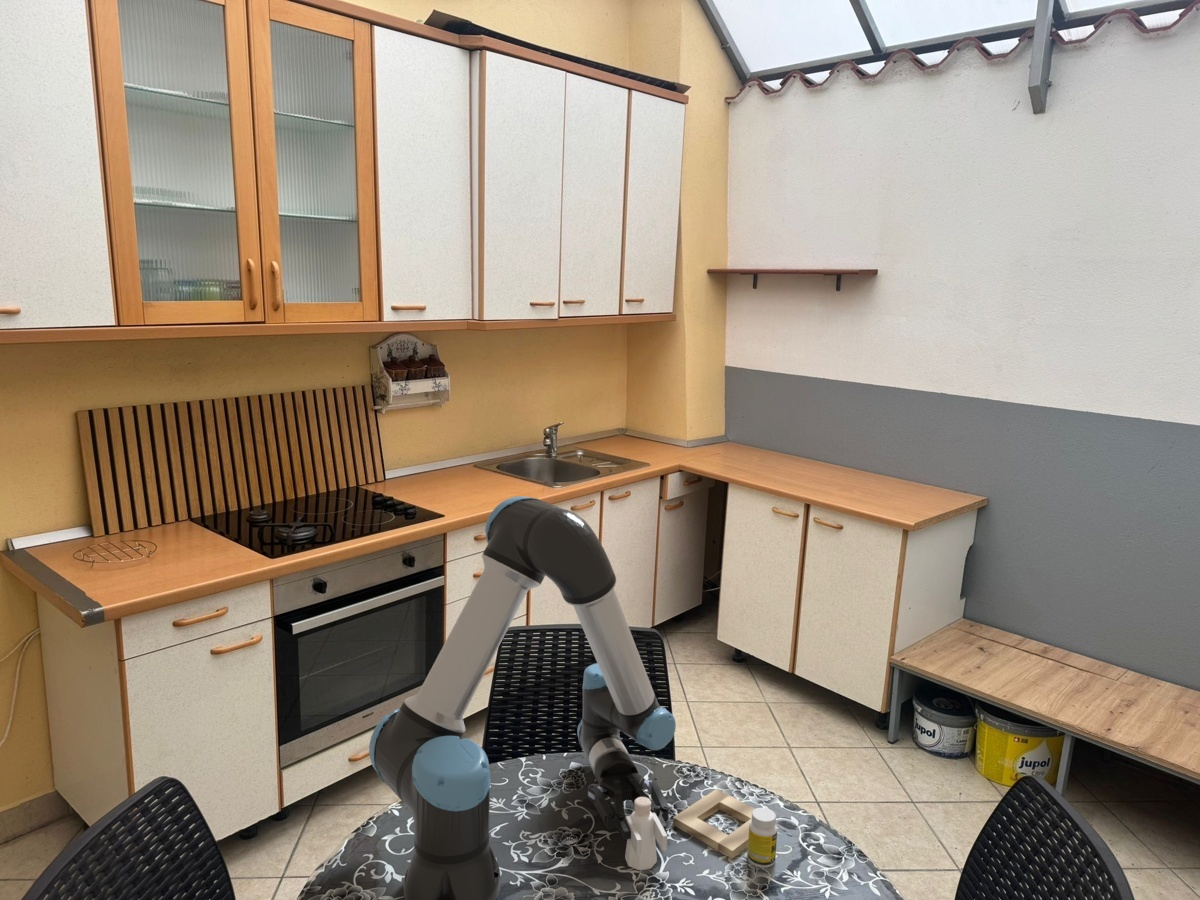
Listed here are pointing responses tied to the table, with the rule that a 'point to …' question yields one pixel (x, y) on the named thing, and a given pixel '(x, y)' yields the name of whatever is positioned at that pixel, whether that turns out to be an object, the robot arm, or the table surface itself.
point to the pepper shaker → (642, 836)
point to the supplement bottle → (762, 838)
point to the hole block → (708, 834)
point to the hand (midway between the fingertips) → (652, 845)
